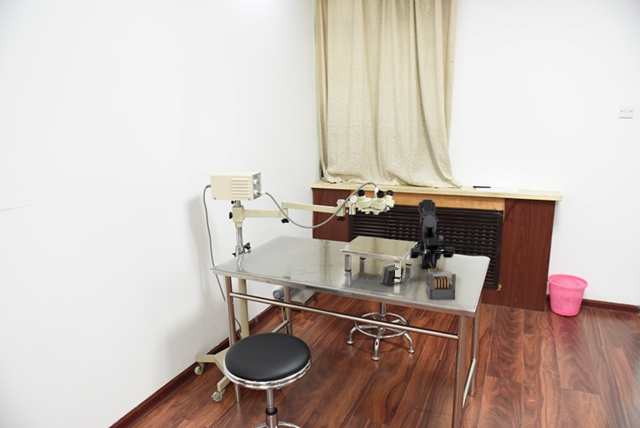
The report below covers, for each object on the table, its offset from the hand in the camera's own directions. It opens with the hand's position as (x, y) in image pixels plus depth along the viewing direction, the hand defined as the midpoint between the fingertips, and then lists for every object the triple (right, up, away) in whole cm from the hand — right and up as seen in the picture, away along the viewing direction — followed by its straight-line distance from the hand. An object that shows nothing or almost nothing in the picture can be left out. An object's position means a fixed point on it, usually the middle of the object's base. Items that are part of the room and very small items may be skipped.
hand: (434, 270), depth 177 cm
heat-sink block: (0, -8, -6) cm, 10 cm away
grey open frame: (-1, -9, -10) cm, 14 cm away
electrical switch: (-17, -7, +5) cm, 19 cm away
